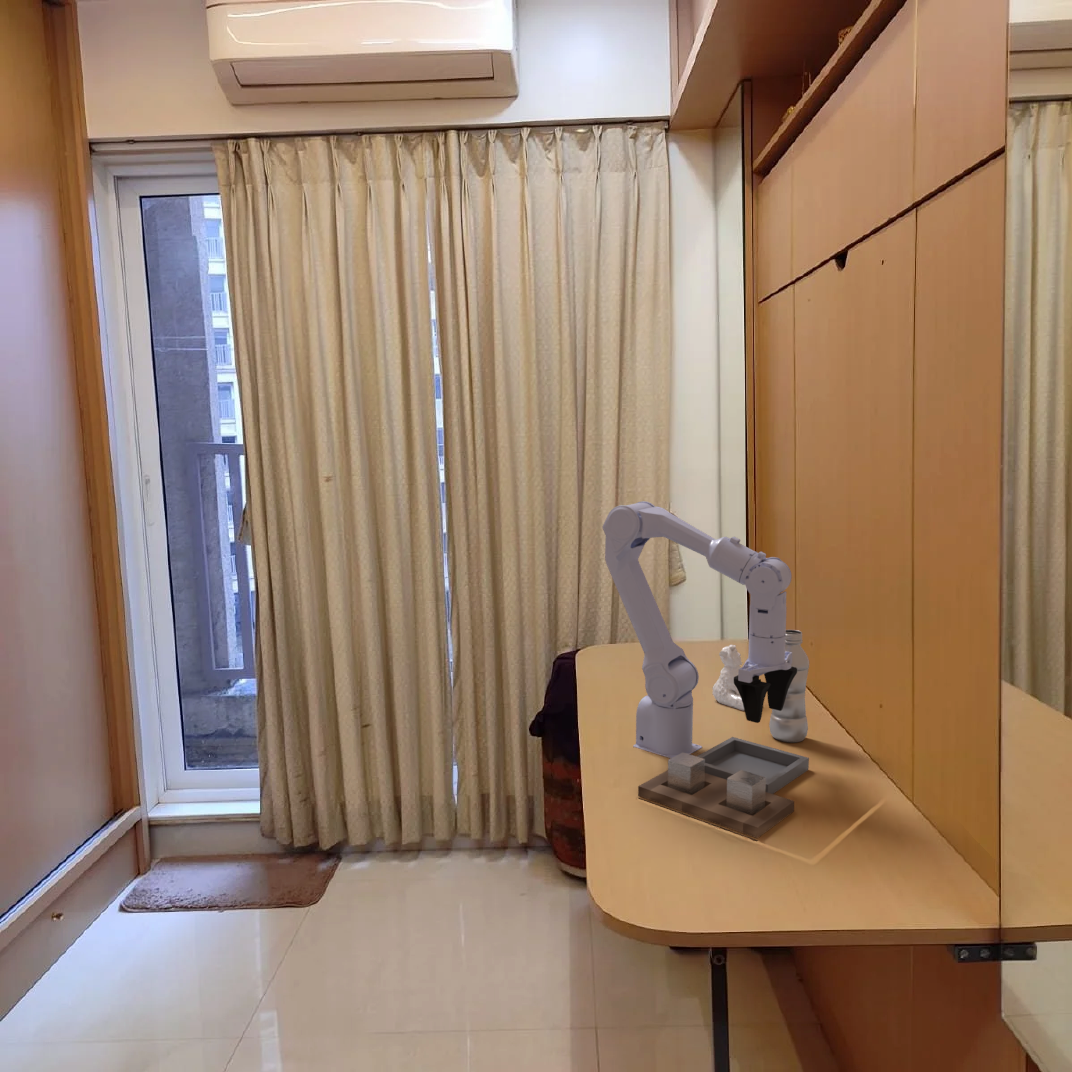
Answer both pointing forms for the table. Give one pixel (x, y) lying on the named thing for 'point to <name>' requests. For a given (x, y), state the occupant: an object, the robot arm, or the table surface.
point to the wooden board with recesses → (716, 805)
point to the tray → (754, 762)
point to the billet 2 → (746, 792)
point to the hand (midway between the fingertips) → (764, 715)
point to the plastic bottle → (793, 696)
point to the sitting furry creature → (728, 679)
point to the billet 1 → (686, 773)
